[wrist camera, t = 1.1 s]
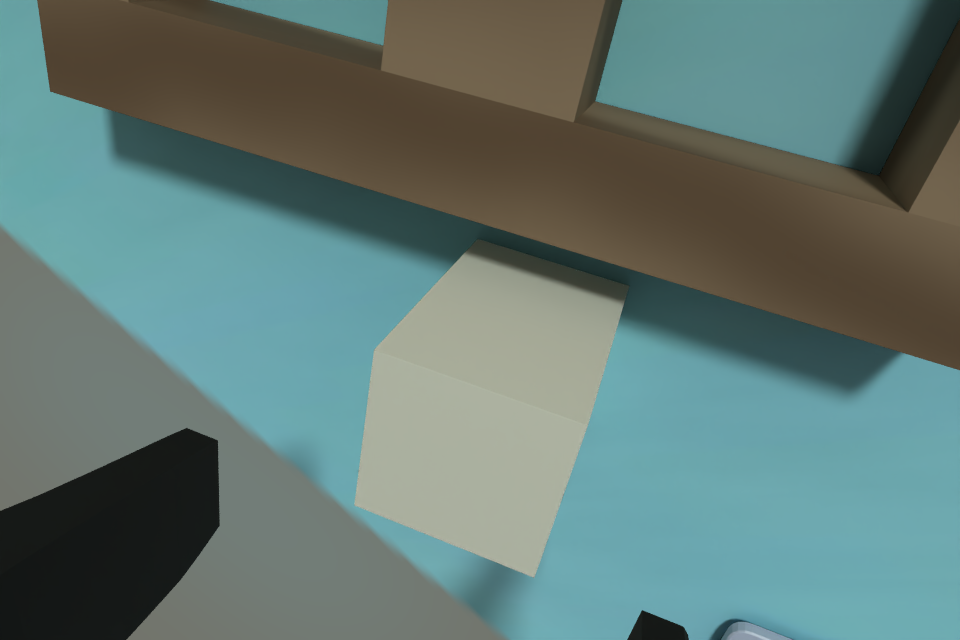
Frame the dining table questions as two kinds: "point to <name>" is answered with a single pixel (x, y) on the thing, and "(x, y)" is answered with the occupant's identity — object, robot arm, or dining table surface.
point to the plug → (487, 402)
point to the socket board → (548, 148)
